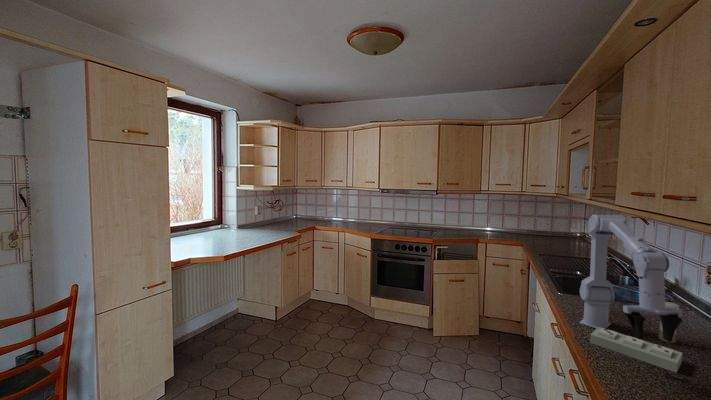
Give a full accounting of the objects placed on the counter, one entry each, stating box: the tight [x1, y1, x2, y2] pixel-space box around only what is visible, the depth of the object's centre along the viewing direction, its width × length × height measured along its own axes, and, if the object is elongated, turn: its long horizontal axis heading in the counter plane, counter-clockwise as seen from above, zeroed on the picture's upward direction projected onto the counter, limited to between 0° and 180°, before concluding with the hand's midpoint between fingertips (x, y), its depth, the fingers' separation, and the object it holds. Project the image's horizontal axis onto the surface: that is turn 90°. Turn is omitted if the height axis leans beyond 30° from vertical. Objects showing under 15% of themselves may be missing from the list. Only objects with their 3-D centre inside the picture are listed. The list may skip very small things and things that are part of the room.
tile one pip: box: [624, 335, 645, 349], centre depth 109 cm, size 4×4×2 cm
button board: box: [589, 327, 684, 374], centre depth 109 cm, size 9×22×3 cm, turn 38°
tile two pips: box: [652, 343, 675, 358], centre depth 103 cm, size 4×4×2 cm
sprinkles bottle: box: [658, 301, 680, 344], centre depth 116 cm, size 5×5×14 cm
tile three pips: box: [599, 328, 619, 340], centre depth 114 cm, size 4×4×2 cm
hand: (653, 339), depth 97 cm, fingers open, 7 cm apart
